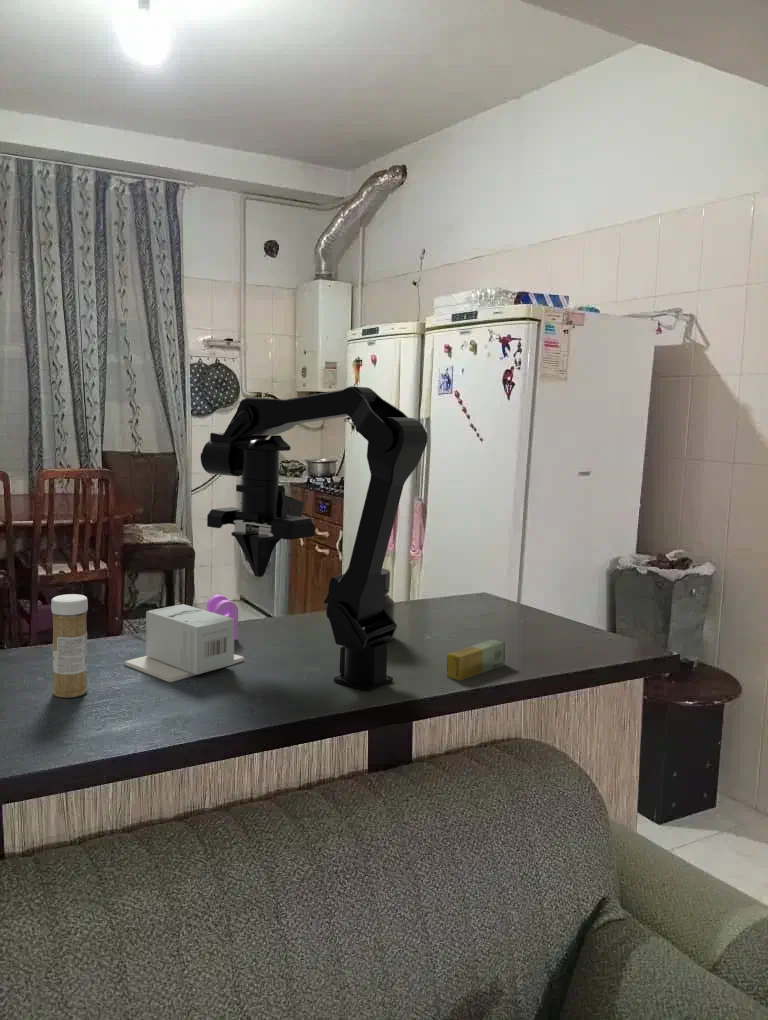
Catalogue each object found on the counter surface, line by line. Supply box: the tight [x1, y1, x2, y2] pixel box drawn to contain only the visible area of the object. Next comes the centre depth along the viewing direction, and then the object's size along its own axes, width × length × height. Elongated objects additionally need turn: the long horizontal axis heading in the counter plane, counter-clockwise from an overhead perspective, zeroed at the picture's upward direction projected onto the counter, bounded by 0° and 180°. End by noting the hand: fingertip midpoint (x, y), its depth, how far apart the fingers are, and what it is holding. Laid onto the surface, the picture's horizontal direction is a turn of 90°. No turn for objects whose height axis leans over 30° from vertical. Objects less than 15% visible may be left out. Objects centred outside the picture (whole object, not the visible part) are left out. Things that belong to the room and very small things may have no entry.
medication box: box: [446, 638, 506, 681], centre depth 127 cm, size 12×3×4 cm, turn 137°
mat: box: [124, 653, 245, 683], centre depth 125 cm, size 11×14×1 cm
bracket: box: [206, 594, 239, 641], centre depth 137 cm, size 13×6×7 cm, turn 119°
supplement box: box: [145, 603, 235, 676], centre depth 124 cm, size 7×7×13 cm
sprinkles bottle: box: [50, 593, 89, 699], centre depth 110 cm, size 5×5×13 cm
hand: (259, 576), depth 129 cm, fingers closed
